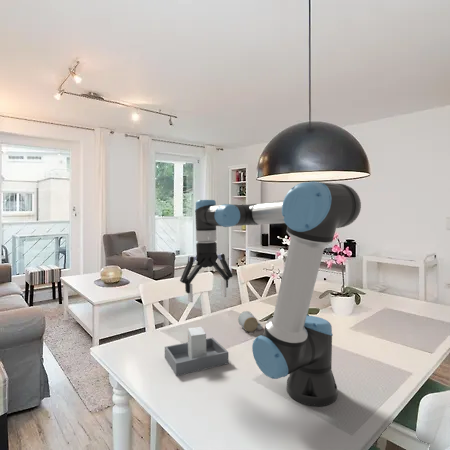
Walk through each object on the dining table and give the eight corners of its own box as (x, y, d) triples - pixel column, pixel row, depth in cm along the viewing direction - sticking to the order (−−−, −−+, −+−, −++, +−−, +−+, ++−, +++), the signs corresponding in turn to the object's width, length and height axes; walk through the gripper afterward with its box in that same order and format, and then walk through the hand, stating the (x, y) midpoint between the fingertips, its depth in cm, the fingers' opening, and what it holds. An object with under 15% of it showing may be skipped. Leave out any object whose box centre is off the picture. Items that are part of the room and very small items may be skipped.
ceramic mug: (244, 333, 147) (244, 317, 147) (237, 327, 155) (238, 311, 154) (265, 331, 150) (265, 314, 150) (258, 325, 158) (258, 309, 158)
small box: (206, 362, 118) (206, 334, 118) (191, 364, 117) (191, 335, 116) (202, 352, 126) (201, 326, 125) (187, 354, 125) (187, 327, 124)
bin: (228, 363, 119) (228, 352, 119) (176, 375, 111) (176, 363, 110) (212, 347, 132) (212, 337, 132) (164, 357, 124) (164, 346, 124)
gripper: (231, 239, 129) (232, 292, 130) (170, 243, 117) (172, 301, 118) (240, 240, 122) (241, 296, 123) (177, 244, 111) (178, 306, 111)
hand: (207, 299), depth 121 cm, fingers open, 13 cm apart
